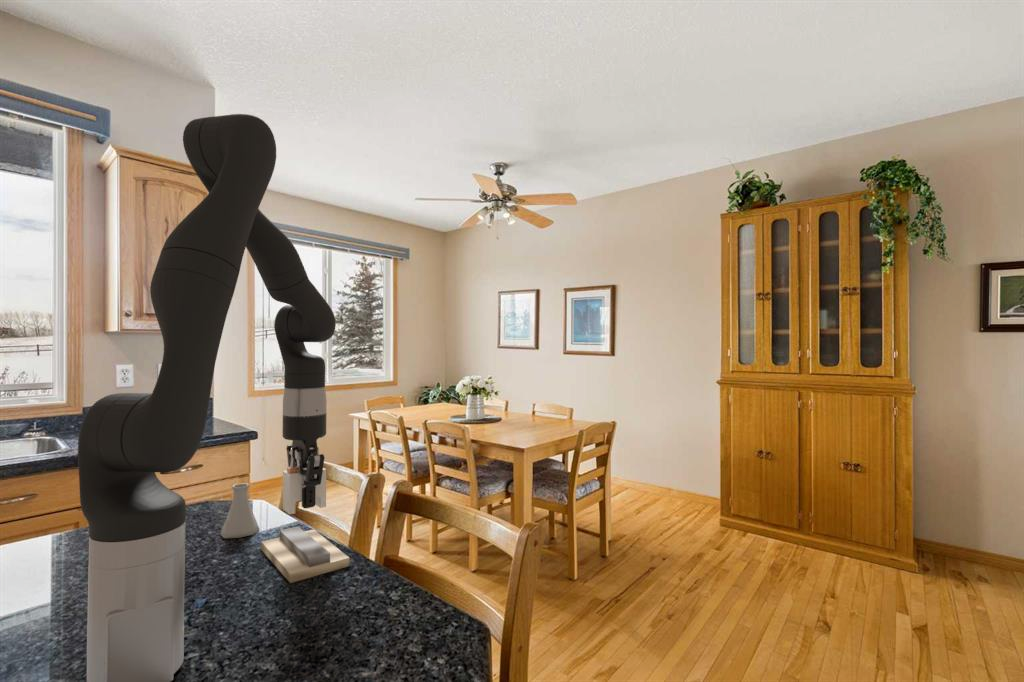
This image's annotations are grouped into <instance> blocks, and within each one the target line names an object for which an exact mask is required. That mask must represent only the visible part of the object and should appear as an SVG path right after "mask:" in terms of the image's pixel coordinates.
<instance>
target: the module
mask: <svg viewBox="0 0 1024 682" xmlns="http://www.w3.org/2000/svg"><path fill="white" fill-rule="evenodd" d="M303 469H304V470H307V468H303ZM311 479H312V476H311ZM301 484H302V483H301V475H299V474H298V469H297V468H296V467H288V466H287V467H286V469H285V470H283V471H282V510H283V511H284V512H286V513H287V514H288V515H294V514H296V503H300V502H299V501H302V485H301ZM315 506H317V507H318V508H320V509H323V508H326V507H327V468H325V467H323V472H322V479H321V484H320V485H317V486H316V489H315Z"/></svg>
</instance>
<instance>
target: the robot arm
mask: <svg viewBox="0 0 1024 682" xmlns="http://www.w3.org/2000/svg"><path fill="white" fill-rule="evenodd" d="M182 135H183V136H182V142H183V143H182V144H183V148H184V151H185V152H184V153H185V154H186V158H187V160H188V161H189V163H190V165H191V167H192V169H193V171H194V172H195V174H196V175H197V177H198V178H199V180H200V181H201V183H202V184H203V186H204V187H205V189H206V190H207V192H208V194H207V195H206V196H205V197H204V198H203V199H202V201H200V203H199V204H198V205H196V206H195V207H194V208H193V209H192V210H191V211H190V212H189V213H188V214H187V215H186V216H185V217H184V218H183V219H182V220H181V221H180V222H179V223H178V225H176V226H175V228H174V229H173V230H172V231H171V232H170V234H168V236H167V238H166V240H165V241H164V243H163V246H162V248H161V251H160V253H159V257H158V259H157V262H156V266H155V269H154V271H153V275H152V277H151V281H150V285H149V286H150V287H149V289H150V290H149V292H150V300H151V304H152V308H153V311H154V314H155V317H156V321H157V323H158V326H159V328H160V329H159V330H160V332H161V335H162V340H163V343H162V344H163V355H162V361H161V365H160V370H159V374H158V377H157V380H156V382H155V386H154V387H153V390H152V393H151V392H150V393H149V392H118V393H113V394H109V395H106V396H104V397H101V398H100V399H98V400H97V401H95V402H94V403H93V404H92V406H91V407H89V409H88V411H86V413H85V415H84V417H83V419H82V422H81V424H80V428H79V434H78V438H77V439H78V443H77V457H78V458H77V464H78V480H79V481H78V483H79V501H80V509H81V511H82V514H83V516H84V518H85V520H86V521H87V523H88V532H89V533H88V535H89V537H88V565H87V566H88V568H87V569H88V570H87V572H88V573H87V574H88V575H87V618H86V619H87V620H86V621H87V624H86V629H87V630H86V633H87V634H86V682H172V681H174V674H176V673H177V672H178V670H179V669H181V666H182V665H183V663H184V659H185V658H184V652H185V647H184V646H185V573H186V572H185V571H186V570H185V569H186V567H185V566H186V524H187V523H186V521H187V505H186V500H185V499H184V497H183V496H181V495H180V494H179V493H177V492H175V491H174V490H172V489H170V488H168V487H167V486H165V485H164V484H163V483H162V482H161V480H160V479H159V478H158V477H157V474H156V473H163V474H164V473H173V472H176V471H178V470H180V469H182V468H183V467H184V466H186V465H187V464H188V463H189V462H190V461H191V460H192V459H193V457H194V455H195V454H196V453H197V451H198V449H199V446H200V444H201V441H202V438H203V436H204V432H205V428H206V423H207V418H208V410H209V406H210V399H211V393H212V392H211V391H212V386H213V385H212V384H213V378H214V373H215V367H216V362H217V357H218V352H219V349H220V344H221V340H222V336H223V332H224V331H223V330H224V327H225V323H226V319H227V316H228V313H229V309H230V306H231V303H232V300H233V296H234V293H235V289H236V286H237V283H238V278H239V275H240V271H241V266H242V261H243V258H244V255H245V254H244V253H245V250H247V251H248V253H249V255H250V257H251V258H252V261H253V263H254V264H255V267H256V269H257V272H258V273H259V274H260V277H261V280H262V281H263V284H264V286H265V287H266V291H267V292H268V294H269V296H270V297H271V299H273V300H274V301H276V302H280V303H284V304H286V305H284V306H281V308H280V309H279V310H278V311H277V313H276V316H275V318H274V324H273V325H274V328H273V329H274V333H275V337H276V341H277V344H278V347H279V350H280V354H281V359H282V361H283V362H282V363H283V366H284V379H283V381H284V384H283V385H284V389H283V390H284V391H283V396H282V397H283V398H282V438H283V439H285V440H286V441H287V440H288V441H292V442H291V444H287V446H286V454H287V455H286V456H287V467H296V468H297V469H298V474H299V475H301V483H302V484H301V485H302V501H299V502H298V503H301V508H303V509H309V508H314V507H315V506H316V504H315V489H316V486H317V485H320V484H321V479H322V472H323V468H324V462H325V455H324V453H322V454H320V448H319V447H318V442H317V441H318V439H320V438H324V437H325V436H326V435H327V393H326V362H325V359H324V358H323V357H322V356H319V355H317V354H311V353H310V352H308V350H307V348H306V345H305V343H323V342H327V341H328V340H330V339H331V338H333V335H334V333H335V331H336V325H337V324H336V318H335V313H334V311H333V309H332V308H331V306H330V304H329V303H328V302H327V300H326V299H325V298H324V297H323V295H322V294H321V293H320V292H319V290H318V289H317V288H316V287H315V285H314V284H313V282H312V281H311V280H310V279H309V276H308V273H307V271H306V268H305V266H304V265H303V261H302V260H301V257H300V255H299V252H298V250H297V249H296V247H295V245H294V244H293V241H291V240H290V238H289V237H288V236H287V235H286V234H285V233H284V232H283V231H282V230H281V229H280V228H279V227H278V226H277V225H275V223H273V221H271V220H270V218H268V217H267V216H266V215H265V214H264V213H263V212H262V211H261V209H260V205H261V203H262V201H263V198H264V196H265V194H266V192H267V191H266V190H267V189H268V186H269V183H270V181H271V179H272V176H273V174H274V171H275V167H276V162H277V161H276V160H277V145H276V139H275V135H274V133H273V131H272V128H270V126H269V125H268V123H266V122H265V120H263V119H262V118H260V117H259V116H256V115H254V114H249V113H247V114H246V113H232V114H226V115H225V114H224V115H217V116H216V115H215V116H206V117H200V118H195V119H192V120H190V121H189V122H188V123H187V124H186V125H185V127H184V130H183V133H182ZM303 468H307V470H304V469H303ZM311 476H312V479H311Z"/></svg>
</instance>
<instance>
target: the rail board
mask: <svg viewBox="0 0 1024 682" xmlns="http://www.w3.org/2000/svg"><path fill="white" fill-rule="evenodd" d="M260 550H261V552H263V554H264V555H265V556H266V557H267V559H268V560H270V562H271V563H272V564H273V565H274V566H275V567H276V569H277V570H278V571H279V572H280V573H281V574H282V576H283V577H284V578H285V579H286V580H287V581H288V582H289V583H290V584H293V583H296V582H299V581H303V580H306V579H310V578H314V577H317V576H319V575H323V574H328V573H330V572H334V571H337V570H341V569H343V568H344V569H345V568H347V567H350V557H349V555H347V554H346V553H344V552H343V551H341V550H340V549H339V548H338V547H337V546H336V545H335V544H333V543H332V542H331V541H329V539H327V538H325V537H324V536H323V535H322V534H320V533H319V532H318V531H316V530H315V529H310V530H303V529H302V528H301V527H300V526H299V525H298V526H294V527H289V528H285V529H281V530H279V537H275V538H271V539H266V540H262V541H260Z"/></svg>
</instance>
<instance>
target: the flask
mask: <svg viewBox="0 0 1024 682" xmlns="http://www.w3.org/2000/svg"><path fill="white" fill-rule="evenodd" d="M248 488H250V484H249V482H245V483H243V482H242V483H241V482H240V483H237V484H235V483H234V484H233V485H231V489H232V490H233V491H232V493H233V496H232V500H231V505H230V508H229V510H228V514H227V516H226V519H225V521H224V523H223V526H222V528H221V531H220V534H219V535H220V536H221V537H222V538H223V539H240V538H243V537H247V536H252V535H253V536H254V535H255V534H256V533H257V532H258V531H259V530H260V527H259V524H258V522H257V519H256V517H255V514H254V512H253V510H252V507H251V504H250V500H249V495H248V494H249V493H248V490H249V489H248Z"/></svg>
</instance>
